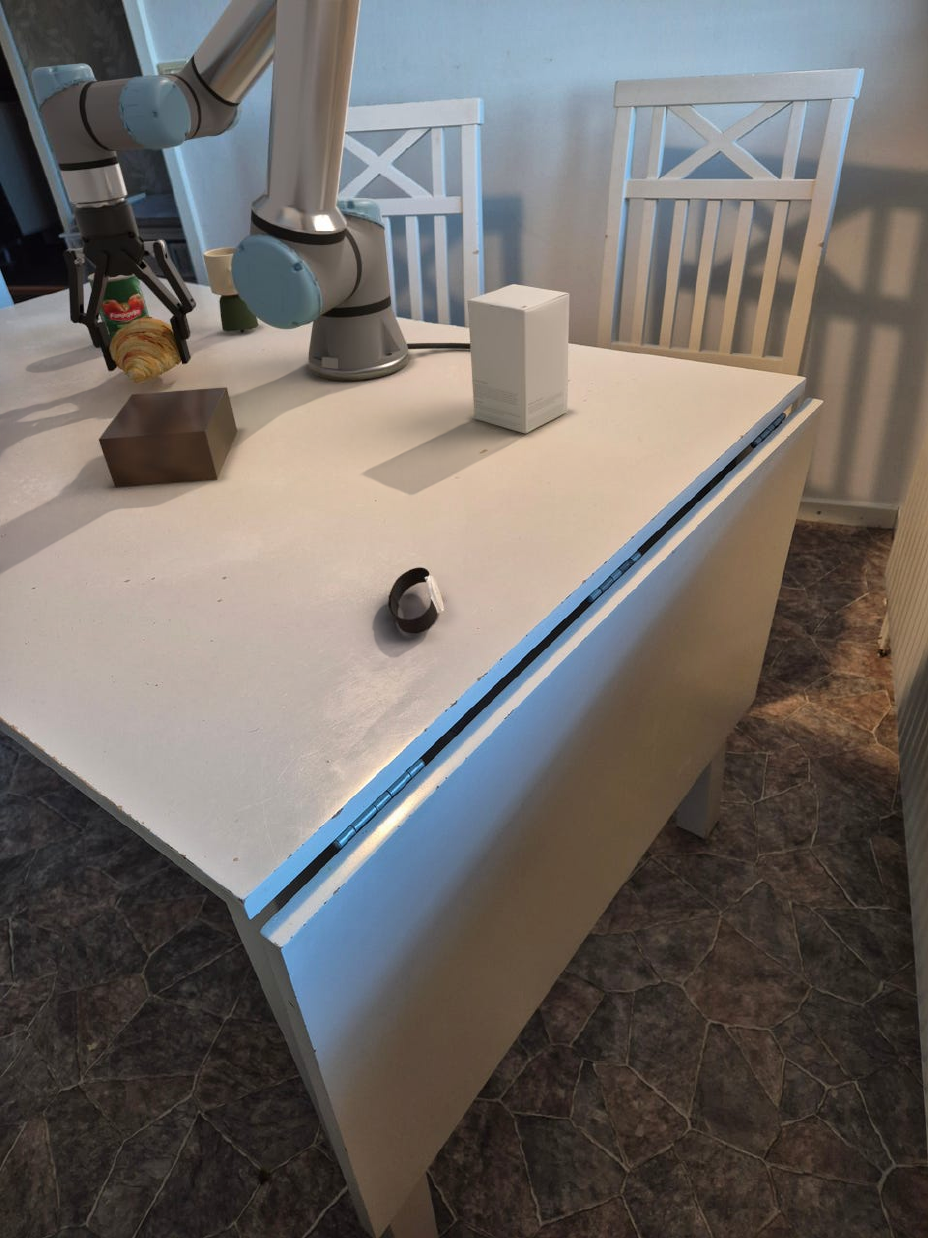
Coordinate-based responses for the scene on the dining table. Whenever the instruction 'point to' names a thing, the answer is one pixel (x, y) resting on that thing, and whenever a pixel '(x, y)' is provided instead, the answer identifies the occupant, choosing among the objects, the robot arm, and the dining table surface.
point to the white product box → (519, 356)
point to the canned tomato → (121, 302)
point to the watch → (404, 584)
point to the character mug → (227, 291)
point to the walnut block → (170, 437)
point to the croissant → (145, 349)
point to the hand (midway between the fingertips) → (150, 364)
